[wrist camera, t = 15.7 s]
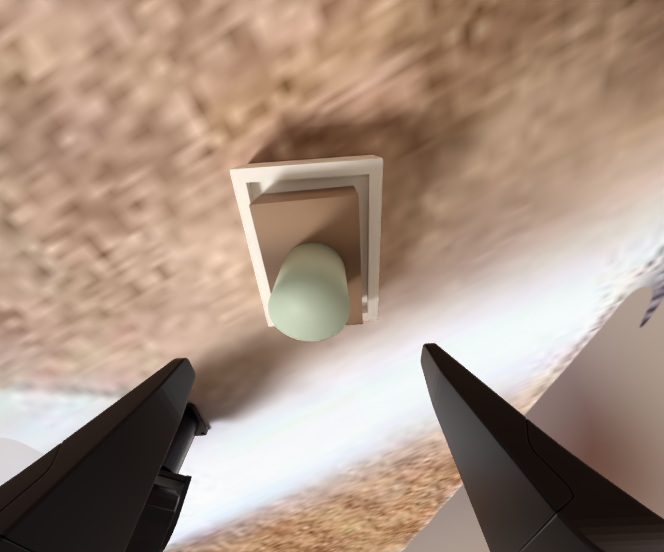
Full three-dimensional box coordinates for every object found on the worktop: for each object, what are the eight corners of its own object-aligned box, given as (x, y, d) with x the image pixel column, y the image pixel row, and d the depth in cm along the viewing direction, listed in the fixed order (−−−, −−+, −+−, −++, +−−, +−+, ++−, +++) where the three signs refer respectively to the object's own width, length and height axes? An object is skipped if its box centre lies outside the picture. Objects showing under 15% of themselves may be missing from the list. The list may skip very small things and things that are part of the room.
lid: (358, 299, 20) (362, 323, 18) (286, 305, 20) (280, 330, 18) (353, 185, 16) (358, 194, 13) (261, 194, 16) (248, 204, 13)
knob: (346, 296, 16) (351, 339, 13) (287, 300, 17) (276, 343, 13) (343, 240, 15) (348, 272, 11) (276, 244, 15) (260, 278, 11)
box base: (370, 294, 24) (377, 320, 20) (276, 300, 24) (268, 326, 20) (372, 154, 18) (383, 158, 14) (247, 163, 18) (229, 169, 15)
